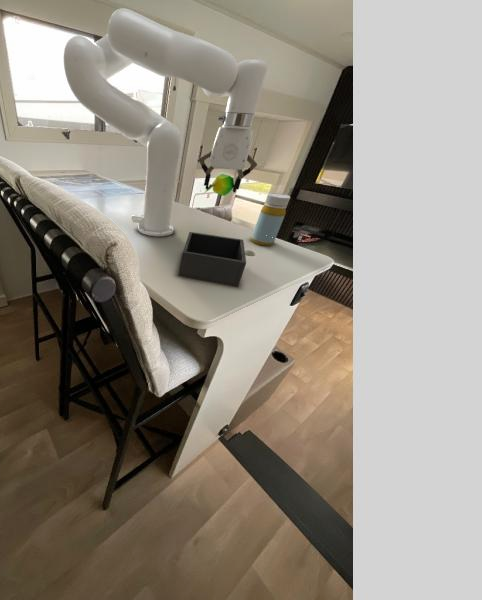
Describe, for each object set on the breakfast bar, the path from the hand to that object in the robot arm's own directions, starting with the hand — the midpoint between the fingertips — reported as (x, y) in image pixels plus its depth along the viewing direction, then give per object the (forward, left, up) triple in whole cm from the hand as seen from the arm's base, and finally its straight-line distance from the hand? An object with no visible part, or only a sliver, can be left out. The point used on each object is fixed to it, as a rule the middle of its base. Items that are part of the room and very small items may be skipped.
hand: (220, 189), depth 79 cm
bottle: (+17, +1, -15) cm, 23 cm away
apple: (0, 0, -2) cm, 2 cm away
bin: (+1, -25, -15) cm, 29 cm away
